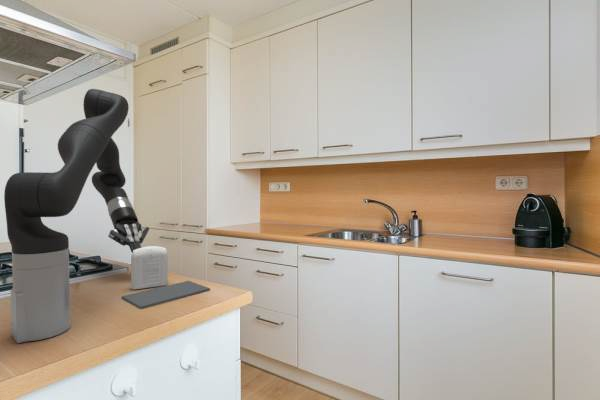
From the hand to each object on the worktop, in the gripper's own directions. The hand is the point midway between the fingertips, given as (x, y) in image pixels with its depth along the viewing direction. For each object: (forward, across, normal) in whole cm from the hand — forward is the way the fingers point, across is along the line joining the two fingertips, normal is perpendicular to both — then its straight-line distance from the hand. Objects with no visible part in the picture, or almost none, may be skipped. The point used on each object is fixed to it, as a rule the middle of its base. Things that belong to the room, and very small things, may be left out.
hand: (137, 253), depth 105 cm
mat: (+20, 0, -7) cm, 21 cm away
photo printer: (+12, 0, +1) cm, 12 cm away
